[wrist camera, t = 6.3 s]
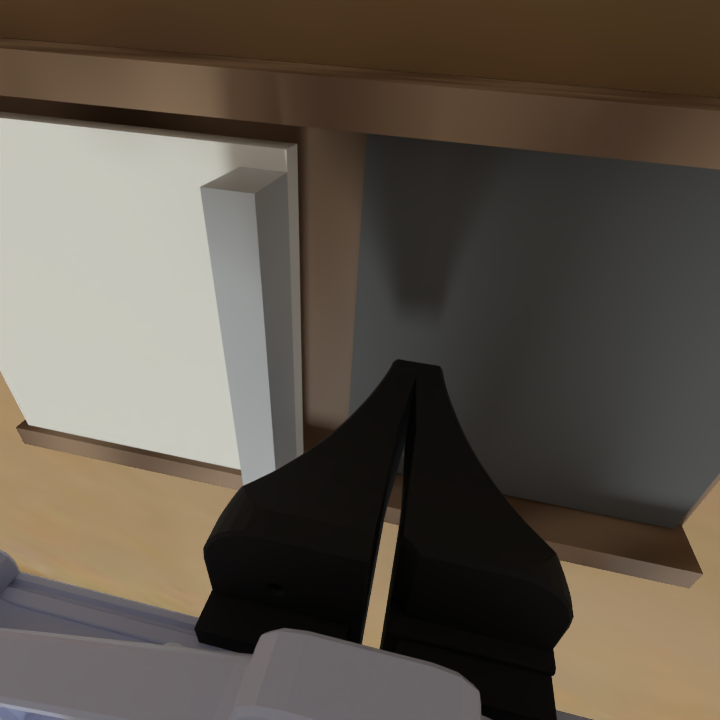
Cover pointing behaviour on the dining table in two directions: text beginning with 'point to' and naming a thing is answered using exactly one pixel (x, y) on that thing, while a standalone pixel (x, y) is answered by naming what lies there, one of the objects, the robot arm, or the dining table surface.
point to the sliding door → (153, 288)
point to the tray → (344, 208)
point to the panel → (551, 315)
